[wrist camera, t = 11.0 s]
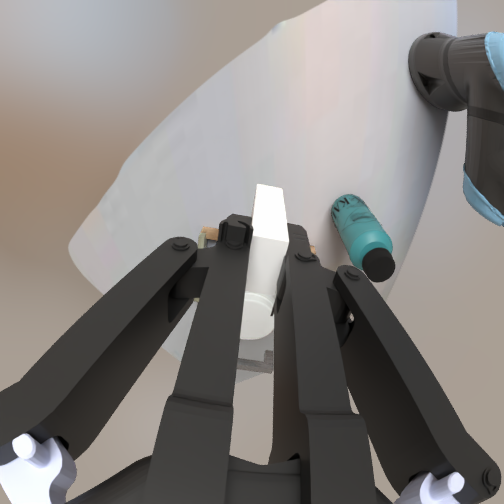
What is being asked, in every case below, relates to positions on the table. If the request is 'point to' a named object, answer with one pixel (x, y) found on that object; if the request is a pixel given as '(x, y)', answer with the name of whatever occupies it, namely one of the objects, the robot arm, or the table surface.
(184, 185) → the table surface
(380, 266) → the beverage bottle
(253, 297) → the supplement tub
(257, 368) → the hook post
